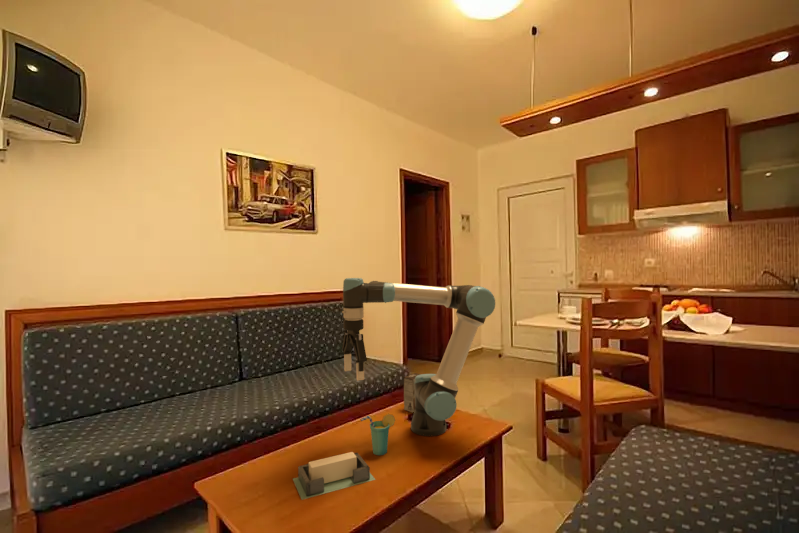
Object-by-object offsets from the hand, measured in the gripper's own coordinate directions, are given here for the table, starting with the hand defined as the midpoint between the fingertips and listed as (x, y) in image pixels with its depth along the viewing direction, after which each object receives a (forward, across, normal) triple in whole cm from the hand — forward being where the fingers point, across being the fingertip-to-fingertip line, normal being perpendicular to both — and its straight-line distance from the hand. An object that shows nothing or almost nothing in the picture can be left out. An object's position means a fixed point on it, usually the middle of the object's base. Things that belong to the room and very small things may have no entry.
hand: (353, 375), depth 149 cm
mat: (+29, +16, -13) cm, 35 cm away
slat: (+28, +16, -13) cm, 35 cm away
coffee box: (+29, -27, +41) cm, 57 cm away
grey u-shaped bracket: (+28, +16, -5) cm, 33 cm away
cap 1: (+28, +16, -21) cm, 38 cm away
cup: (+29, +6, +7) cm, 30 cm away
